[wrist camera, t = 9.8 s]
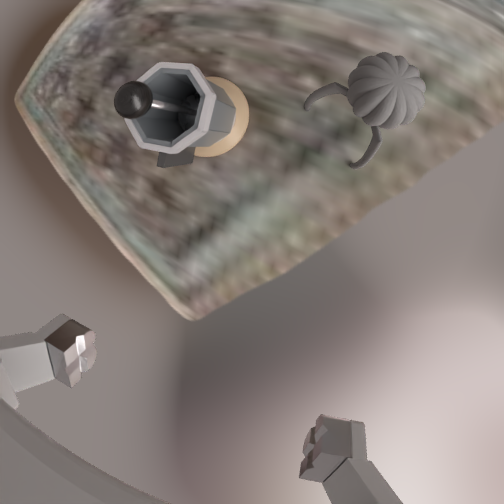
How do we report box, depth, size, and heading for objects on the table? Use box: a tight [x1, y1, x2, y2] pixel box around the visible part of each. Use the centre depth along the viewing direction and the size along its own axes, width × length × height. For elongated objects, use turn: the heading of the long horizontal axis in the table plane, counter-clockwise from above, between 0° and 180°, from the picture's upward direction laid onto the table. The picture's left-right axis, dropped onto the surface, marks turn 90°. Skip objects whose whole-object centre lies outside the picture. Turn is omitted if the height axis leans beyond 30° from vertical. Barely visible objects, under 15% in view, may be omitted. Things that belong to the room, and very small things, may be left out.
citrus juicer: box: [304, 52, 426, 169], centre depth 26 cm, size 11×10×30 cm
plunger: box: [114, 81, 201, 131], centre depth 31 cm, size 6×6×19 cm
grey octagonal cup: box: [124, 62, 249, 168], centre depth 37 cm, size 14×13×14 cm
